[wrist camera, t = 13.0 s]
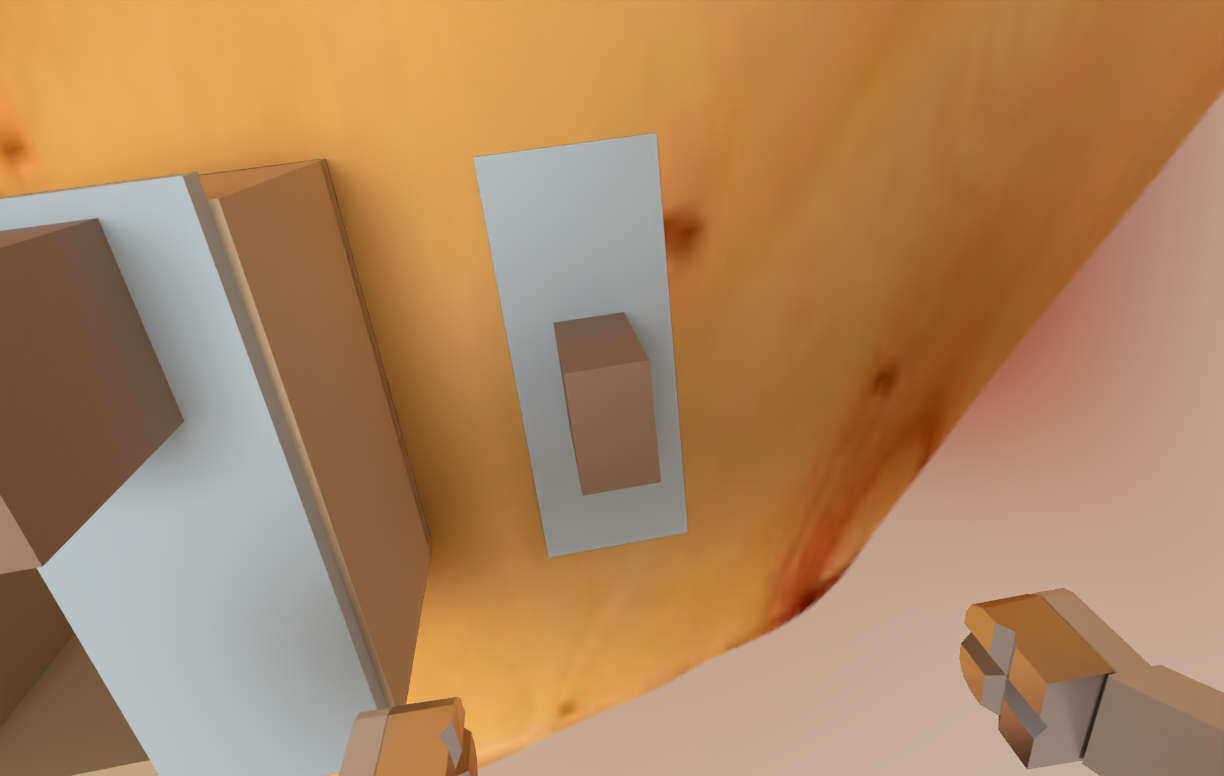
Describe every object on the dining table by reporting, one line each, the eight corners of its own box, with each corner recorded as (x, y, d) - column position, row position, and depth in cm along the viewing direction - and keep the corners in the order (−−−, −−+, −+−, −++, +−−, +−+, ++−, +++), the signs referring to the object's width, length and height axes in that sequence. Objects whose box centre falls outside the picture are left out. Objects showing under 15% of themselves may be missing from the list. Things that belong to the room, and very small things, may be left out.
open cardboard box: (324, 158, 20) (218, 198, 12) (432, 547, 25) (403, 729, 18) (-117, 215, 19) (-515, 295, 11) (101, 606, 24) (-70, 823, 17)
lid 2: (652, 132, 21) (693, 143, 17) (684, 523, 27) (720, 611, 23) (473, 155, 21) (464, 173, 16) (547, 548, 27) (556, 643, 22)
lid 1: (197, 172, 12) (6, 221, 8) (399, 740, 18) (363, 959, 14) (-137, 215, 12) (-558, 296, 7) (187, 783, 18) (75, 1024, 13)
